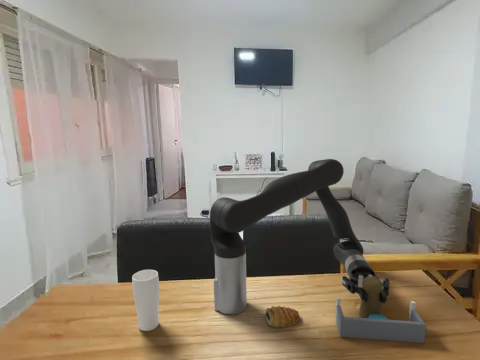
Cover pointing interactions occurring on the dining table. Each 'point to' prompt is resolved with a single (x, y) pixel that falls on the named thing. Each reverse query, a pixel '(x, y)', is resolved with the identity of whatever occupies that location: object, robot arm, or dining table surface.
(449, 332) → the dining table surface
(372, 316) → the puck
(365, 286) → the cork
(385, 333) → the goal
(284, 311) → the pastry
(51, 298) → the dining table surface
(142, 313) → the drinking glass
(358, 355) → the dining table surface
